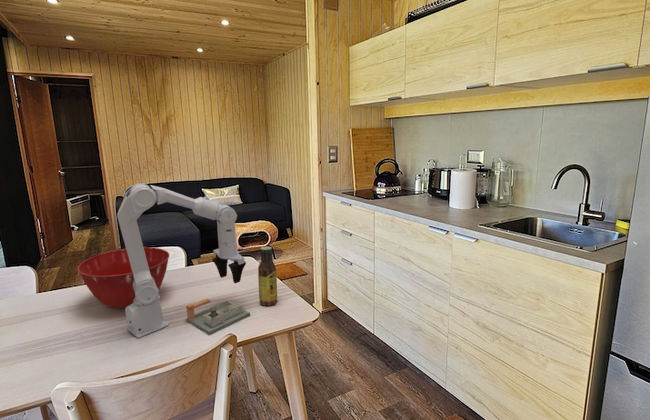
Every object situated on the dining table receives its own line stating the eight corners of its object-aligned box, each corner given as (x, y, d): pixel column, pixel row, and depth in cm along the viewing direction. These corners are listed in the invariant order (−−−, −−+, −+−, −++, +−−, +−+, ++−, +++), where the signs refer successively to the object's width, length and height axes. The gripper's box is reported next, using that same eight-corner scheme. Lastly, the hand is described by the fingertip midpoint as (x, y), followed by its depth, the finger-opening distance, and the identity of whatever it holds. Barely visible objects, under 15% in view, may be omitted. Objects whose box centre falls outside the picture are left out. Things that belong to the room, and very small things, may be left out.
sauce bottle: (274, 307, 126) (271, 251, 121) (256, 306, 127) (253, 250, 123) (280, 298, 132) (277, 245, 128) (263, 297, 133) (260, 244, 129)
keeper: (190, 320, 116) (189, 306, 115) (187, 318, 117) (186, 305, 116) (211, 311, 121) (210, 298, 120) (208, 309, 123) (207, 296, 122)
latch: (212, 327, 111) (211, 319, 111) (204, 322, 114) (203, 315, 114) (244, 312, 120) (243, 305, 119) (235, 308, 123) (235, 301, 122)
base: (209, 335, 109) (207, 317, 108) (186, 320, 118) (184, 304, 116) (250, 315, 120) (249, 299, 119) (226, 303, 129) (225, 288, 127)
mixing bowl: (187, 284, 145) (183, 247, 142) (146, 321, 118) (140, 276, 114) (119, 282, 148) (114, 246, 145) (63, 318, 121) (55, 274, 117)
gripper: (250, 242, 121) (253, 281, 124) (224, 234, 130) (227, 270, 133) (233, 247, 116) (235, 287, 119) (206, 239, 125) (210, 277, 128)
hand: (230, 279), depth 126 cm, fingers open, 7 cm apart
